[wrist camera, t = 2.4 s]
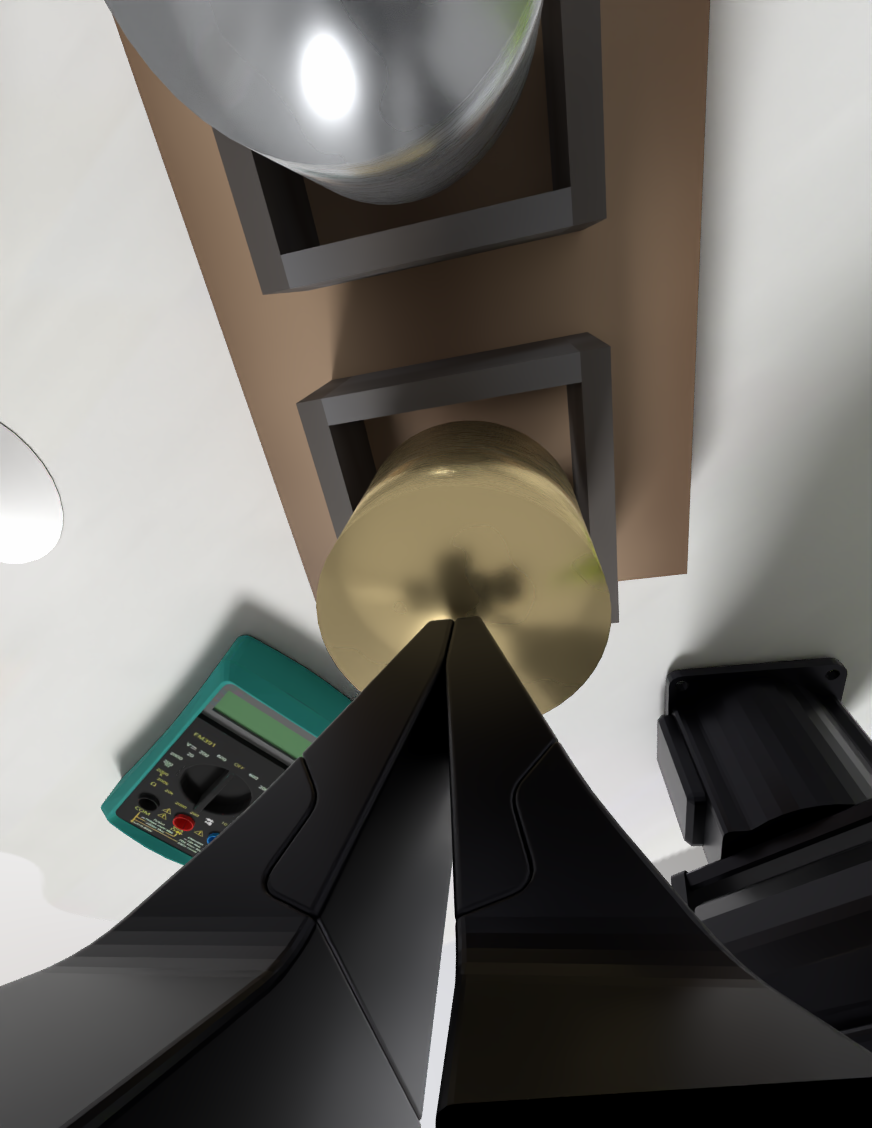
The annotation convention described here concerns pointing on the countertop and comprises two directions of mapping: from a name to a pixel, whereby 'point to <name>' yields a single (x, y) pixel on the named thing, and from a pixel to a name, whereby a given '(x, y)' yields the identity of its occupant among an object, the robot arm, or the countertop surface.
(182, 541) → the countertop surface
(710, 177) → the countertop surface
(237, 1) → the steel knob
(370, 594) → the brass knob
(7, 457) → the champagne flute
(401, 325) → the knob console
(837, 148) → the countertop surface
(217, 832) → the digital multimeter
